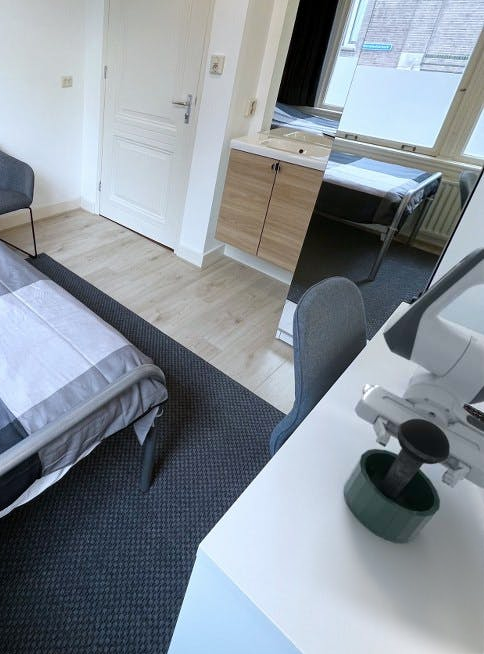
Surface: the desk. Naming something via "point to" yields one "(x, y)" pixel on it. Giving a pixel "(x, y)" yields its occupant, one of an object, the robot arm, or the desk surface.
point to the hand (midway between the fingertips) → (414, 461)
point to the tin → (389, 499)
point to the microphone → (414, 453)
